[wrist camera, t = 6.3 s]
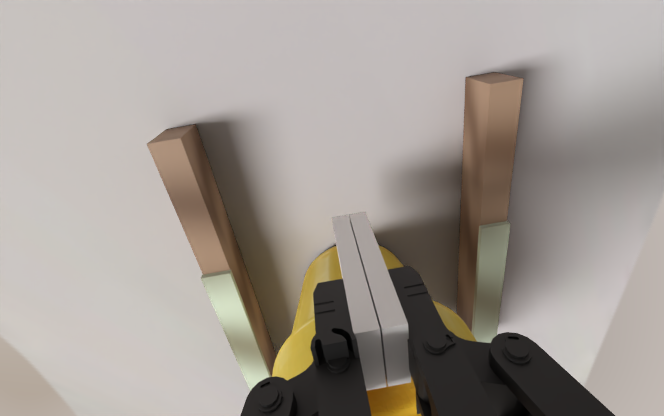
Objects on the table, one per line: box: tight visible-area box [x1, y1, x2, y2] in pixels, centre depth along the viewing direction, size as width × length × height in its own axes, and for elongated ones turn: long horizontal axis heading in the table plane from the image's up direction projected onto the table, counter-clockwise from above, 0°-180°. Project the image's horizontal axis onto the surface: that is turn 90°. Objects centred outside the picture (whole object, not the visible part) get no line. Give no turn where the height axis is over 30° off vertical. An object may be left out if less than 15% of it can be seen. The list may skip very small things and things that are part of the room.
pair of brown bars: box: [147, 72, 523, 391], centre depth 20 cm, size 19×17×3 cm
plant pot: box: [272, 245, 477, 416], centre depth 18 cm, size 10×10×10 cm
